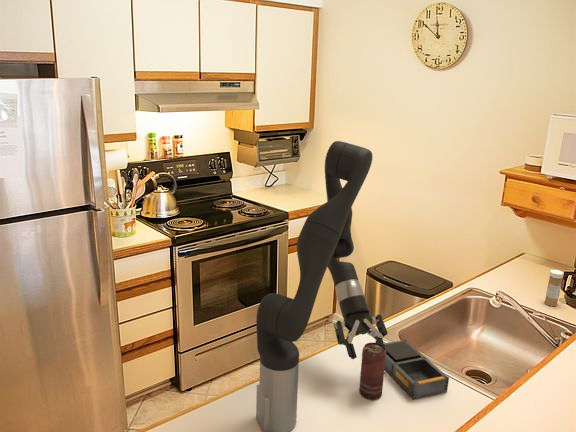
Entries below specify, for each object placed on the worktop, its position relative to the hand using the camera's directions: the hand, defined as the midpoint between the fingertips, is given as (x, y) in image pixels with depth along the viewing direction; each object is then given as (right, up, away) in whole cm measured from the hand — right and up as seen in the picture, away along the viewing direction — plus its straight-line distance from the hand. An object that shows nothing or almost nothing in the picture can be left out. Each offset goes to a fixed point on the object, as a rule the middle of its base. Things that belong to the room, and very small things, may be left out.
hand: (368, 355), depth 136 cm
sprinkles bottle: (+79, +4, +58) cm, 98 cm away
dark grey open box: (+13, -8, +10) cm, 18 cm away
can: (+1, -11, +1) cm, 11 cm away
